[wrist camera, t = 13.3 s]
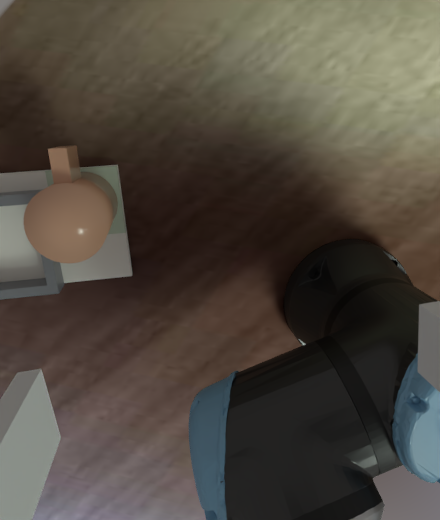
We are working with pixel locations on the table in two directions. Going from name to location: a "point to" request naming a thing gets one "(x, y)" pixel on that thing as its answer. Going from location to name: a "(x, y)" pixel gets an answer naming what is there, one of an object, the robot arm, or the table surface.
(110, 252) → the board
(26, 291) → the cradle
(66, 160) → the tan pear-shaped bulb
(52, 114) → the table surface
